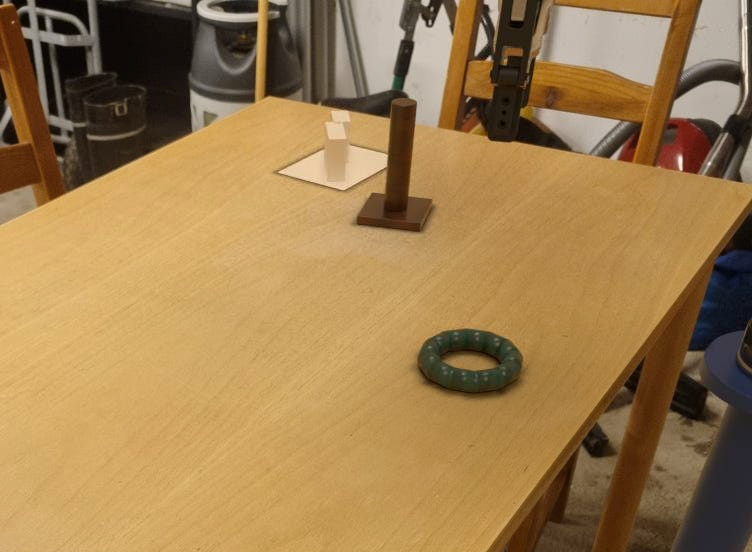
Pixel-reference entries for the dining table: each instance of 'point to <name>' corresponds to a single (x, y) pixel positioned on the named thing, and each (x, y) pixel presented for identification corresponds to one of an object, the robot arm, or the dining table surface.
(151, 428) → the dining table surface
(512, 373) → the ring
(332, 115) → the napkin holder
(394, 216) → the post
